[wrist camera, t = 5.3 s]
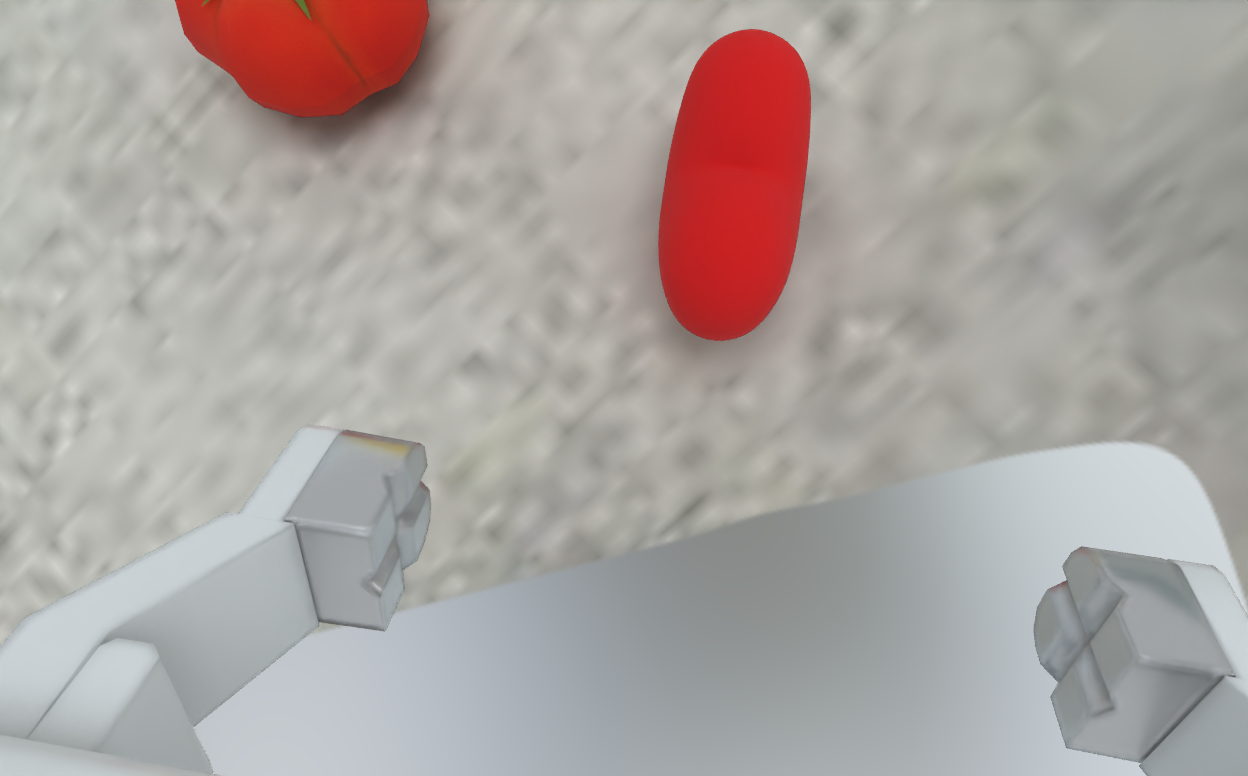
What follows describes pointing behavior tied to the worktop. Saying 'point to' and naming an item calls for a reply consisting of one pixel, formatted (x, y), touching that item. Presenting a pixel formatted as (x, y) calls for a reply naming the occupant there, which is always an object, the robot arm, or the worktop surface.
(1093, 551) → the robot arm
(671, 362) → the worktop surface
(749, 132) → the heart
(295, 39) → the tomato
